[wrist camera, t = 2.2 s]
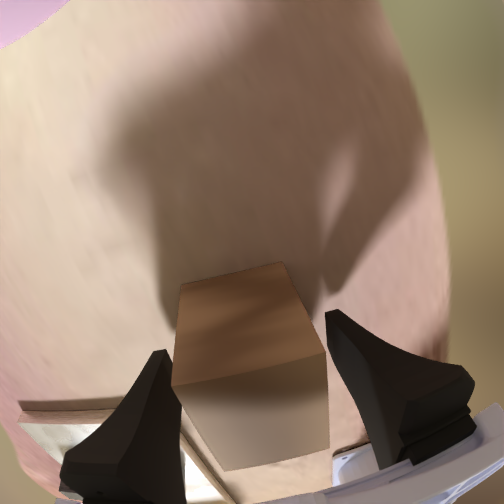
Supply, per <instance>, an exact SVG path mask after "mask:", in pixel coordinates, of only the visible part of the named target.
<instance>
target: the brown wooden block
mask: <svg viewBox="0 0 504 504" xmlns="http://www.w3.org/2000/svg"><path fill="white" fill-rule="evenodd" d="M171 387H172V389H173V391H174V392H175V394H176V396H177V398H178V400H179V401H180V403H181V405H182V406H183V408H184V410H185V412H186V413H187V415H188V417H189V418H190V420H191V422H192V423H193V425H194V426H195V428H196V430H197V431H198V433H199V435H200V436H201V438H202V439H203V441H204V442H205V444H206V445H207V447H208V449H209V450H210V452H211V453H212V455H213V456H214V458H215V459H216V461H217V462H218V463H219V465H220V466H221V468H222V469H223V471H224V472H225V471H232V470H238V469H244V468H250V467H255V466H261V465H266V464H270V463H275V462H279V461H284V460H288V459H292V458H296V457H300V456H304V455H308V454H311V453H315V452H318V451H322V450H325V449H329V448H330V435H329V402H328V380H327V362H326V351H325V349H324V347H323V345H322V343H321V341H320V339H319V337H318V334H317V332H316V330H315V328H314V326H313V324H312V322H311V320H310V318H309V316H308V314H307V312H306V310H305V308H304V306H303V304H302V302H301V299H300V297H299V295H298V293H297V291H296V289H295V287H294V285H293V283H292V281H291V279H290V277H289V275H288V273H287V271H286V269H285V267H284V265H283V263H282V262H278V263H274V264H270V265H265V266H261V267H257V268H253V269H248V270H244V271H240V272H236V273H231V274H227V275H223V276H218V277H214V278H210V279H205V280H201V281H197V282H192V283H188V284H184V285H181V292H180V300H179V309H178V317H177V326H176V336H175V346H174V356H173V368H172V380H171Z"/></svg>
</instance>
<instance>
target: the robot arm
mask: <svg viewBox="0 0 504 504" xmlns="http://www.w3.org/2000/svg"><path fill="white" fill-rule="evenodd" d="M325 321H326V335H327V347H328V349H329V352H330V354H331V357H332V360H333V362H334V364H335V366H336V368H337V370H338V372H339V374H340V376H341V377H342V379H343V381H344V383H345V385H346V386H347V388H348V390H349V392H350V394H351V396H352V397H353V399H354V401H355V403H356V405H357V408H358V410H359V413H360V415H361V418H362V420H363V423H364V426H365V428H366V431H367V434H368V436H369V439H370V442H371V443H369V444H366V445H364V446H361V447H358V448H355V449H352V450H349V451H346V452H343V453H340V454H337V455H335V456H334V457H333V458H332V486H333V487H331V488H328V489H325V490H321V491H318V492H314V493H306V494H300V495H295V496H291V497H286V498H282V499H277V500H272V501H267V502H261V503H255V504H452V503H453V502H455V500H456V499H457V498H458V497H459V496H461V495H462V494H464V493H465V492H467V491H468V490H470V489H471V488H473V487H474V486H476V485H477V484H479V483H480V482H482V481H483V480H484V479H486V478H487V477H488V476H490V475H491V474H493V473H494V472H496V471H497V470H498V469H500V468H501V467H502V466H503V465H504V411H503V409H502V408H501V407H500V405H499V404H498V403H497V402H495V403H493V404H492V405H490V406H489V407H487V408H486V409H484V410H483V411H481V412H480V413H478V414H477V415H476V416H475V417H474V418H473V419H472V418H471V417H470V415H469V413H470V412H471V410H470V408H469V407H468V406H467V403H468V401H469V399H470V397H471V395H472V392H473V390H474V386H475V381H474V380H473V379H472V377H471V376H470V375H469V373H468V372H467V371H466V370H465V369H464V368H463V367H462V366H461V365H454V364H448V363H442V362H438V361H434V360H430V359H426V358H423V357H420V356H417V355H414V354H411V353H409V352H406V351H404V350H402V349H399V348H397V347H395V346H393V345H391V344H389V343H387V342H385V341H384V340H382V339H380V338H378V337H377V336H375V335H374V334H372V333H371V332H369V331H368V330H366V329H365V328H363V327H362V326H360V325H359V324H357V323H356V322H355V321H353V320H352V319H351V318H349V317H348V316H347V315H345V314H344V313H343V312H342V311H340V310H339V309H335V310H332V311H328V312H325ZM172 368H173V363H172V361H171V359H170V357H169V354H168V352H167V350H166V349H163V350H158V351H153V353H152V355H151V356H150V358H149V359H148V361H147V363H146V365H145V366H144V368H143V370H142V371H141V373H140V375H139V376H138V378H137V380H136V381H135V383H134V384H133V386H132V387H131V389H130V390H129V392H128V393H127V395H126V396H125V398H124V399H123V400H122V402H121V403H120V404H119V406H118V407H117V408H116V409H115V410H114V412H113V413H112V414H111V415H110V416H109V417H108V418H107V419H106V420H105V421H104V422H103V423H102V424H101V425H100V426H99V427H98V428H97V429H96V430H95V431H94V432H93V433H92V434H90V435H89V436H88V437H87V438H85V439H84V440H83V441H82V442H80V443H79V444H77V445H76V446H74V447H73V448H71V449H70V450H68V451H67V452H65V455H64V459H63V463H62V467H61V471H60V479H61V480H62V482H63V483H64V484H65V485H66V486H68V487H69V488H70V489H72V490H73V491H74V492H76V493H77V494H79V495H80V496H81V497H83V502H82V503H80V502H77V501H73V500H67V499H61V498H56V501H55V504H187V500H186V494H185V488H184V482H183V474H182V466H181V455H180V427H181V411H182V405H181V403H180V401H179V400H178V398H177V396H176V394H175V392H174V391H173V389H172V387H171V380H172Z"/></svg>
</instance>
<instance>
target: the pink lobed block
mask: <svg viewBox="0 0 504 504" xmlns="http://www.w3.org/2000/svg"><path fill="white" fill-rule="evenodd" d="M68 1H69V0H0V49H1V48H4V47H6V46H7V45H9V44H11V43H13V42H15V41H16V40H18V39H20V38H21V37H23V36H25V35H26V34H28V33H29V32H30V31H32V30H33V29H35V28H36V27H38V26H39V25H40V24H42V23H43V22H44V21H46V20H47V19H48V18H49V17H51V16H52V15H53V14H54V13H56V12H57V11H58V10H59V9H60V8H62V7H63V6H64V5H65V4H66V3H67V2H68Z"/></svg>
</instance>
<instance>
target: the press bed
mask: <svg viewBox="0 0 504 504" xmlns="http://www.w3.org/2000/svg"><path fill="white" fill-rule="evenodd" d="M114 410H115V409H106V410H89V411H22V412H21V415H20V417H19V419H18V422H17V423H18V424H19V425H20V426H21V427H22V428H23V429H24V430H25V431H26V432H27V433H28V434H29V435H30V436H31V437H32V438H33V439H34V440H35V441H36V442H37V443H38V444H39V445H40V446H41V447H42V448H43V449H44V450H45V451H46V452H47V453H48V454H50V455H51V456H52V457H53V458H54V459H55V460H56V461H57V462H59V463H60V464H61V465H62V463H63V459H64V455H65V452H67V451H68V450H70V449H71V448H73V447H74V446H76V445H77V444H79V443H80V442H82V441H83V440H84V439H85V438H87V437H88V436H89V435H90V434H92V433H93V432H94V431H95V430H96V429H97V428H98V427H99V426H100V425H101V424H102V423H103V422H104V421H105V420H106V419H107V418H108V417H109V416H110V415H111V414H112V413H113V412H114ZM180 455H181V466H182V474H183V482H184V488H185V494H186V500H187V504H236V503H235V501H234V500H233V499H232V498H231V497H230V496H229V494H228V493H227V492H226V491H225V490H224V488H223V487H222V486H221V485H220V484H219V482H218V481H217V480H216V479H215V477H214V476H213V475H212V474H211V472H210V471H209V470H208V468H207V467H206V466H205V464H204V463H203V462H202V461H201V459H200V458H199V457H198V455H197V454H196V452H195V451H194V450H193V448H192V447H191V446H190V444H189V443H188V441H187V440H186V439H185V437H184V436H183V434H182V433H181V431H180ZM59 492H61V493H62V494H64V495H65V496H67V497H68V498H69V499H75V500H82V501H83V497H81V496H80V495H79V494H77V493H76V492H74V491H73V490H72V489H70V488H69V487H68V486H66V485H65V484H64V483H63V482H62V480H61V482H60V487H59Z"/></svg>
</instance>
